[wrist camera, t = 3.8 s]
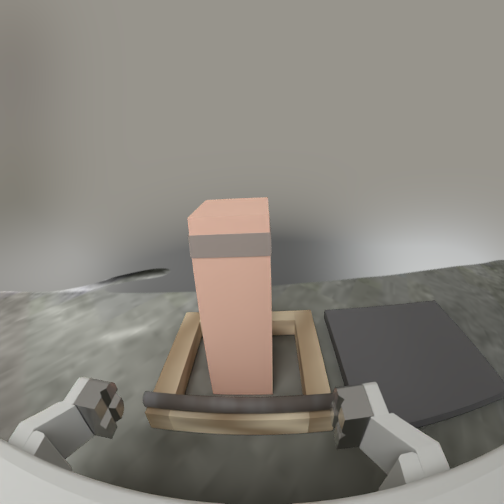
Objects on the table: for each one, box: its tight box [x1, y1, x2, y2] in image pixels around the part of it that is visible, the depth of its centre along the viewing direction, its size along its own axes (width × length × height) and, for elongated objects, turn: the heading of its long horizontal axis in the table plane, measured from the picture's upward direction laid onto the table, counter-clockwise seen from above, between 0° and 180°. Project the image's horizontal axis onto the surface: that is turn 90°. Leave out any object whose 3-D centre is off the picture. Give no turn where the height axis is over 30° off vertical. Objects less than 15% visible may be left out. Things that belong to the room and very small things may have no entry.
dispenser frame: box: [143, 310, 334, 435], centre depth 20 cm, size 11×12×2 cm
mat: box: [324, 300, 504, 428], centre depth 20 cm, size 12×14×1 cm
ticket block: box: [188, 197, 273, 395], centre depth 19 cm, size 4×5×12 cm
